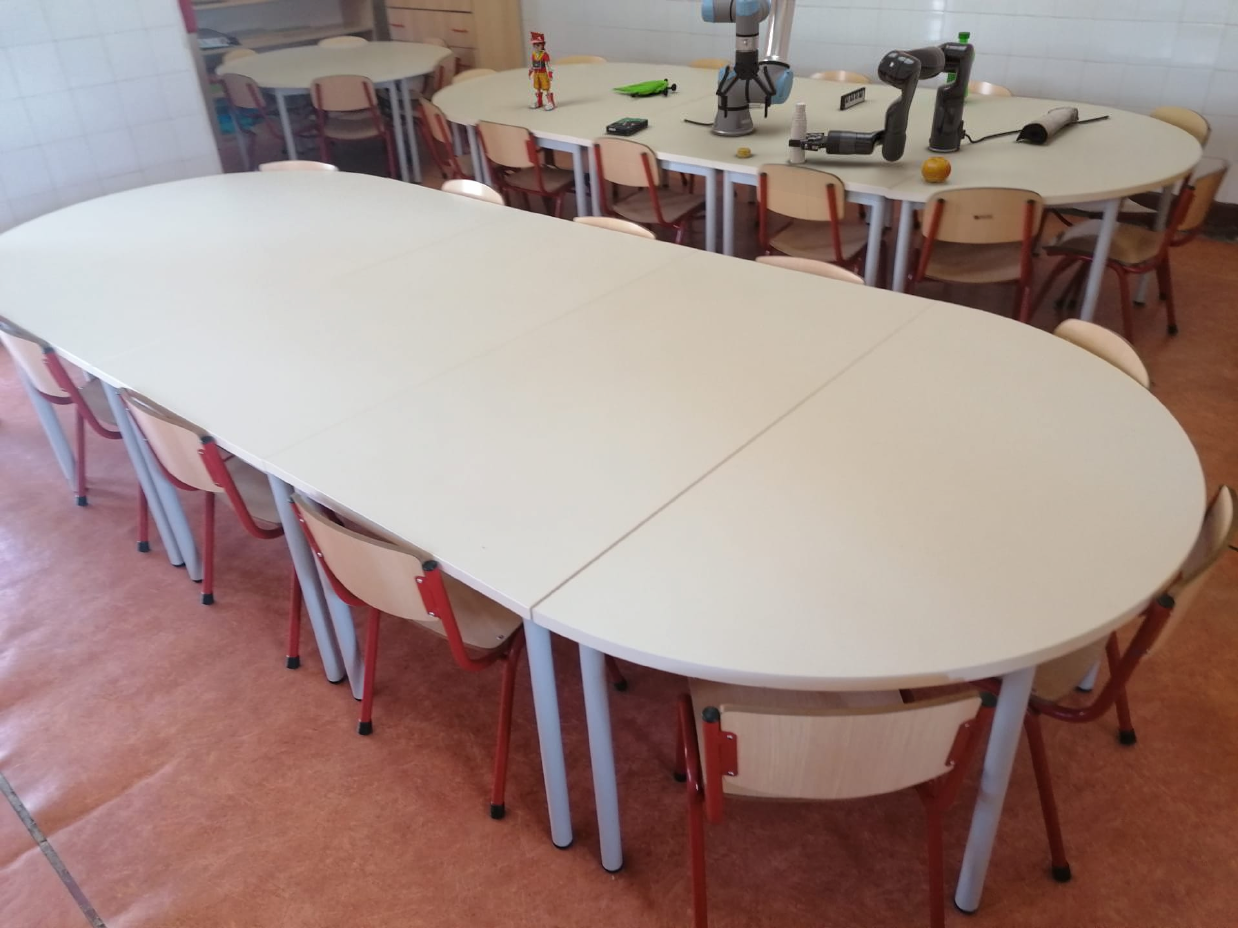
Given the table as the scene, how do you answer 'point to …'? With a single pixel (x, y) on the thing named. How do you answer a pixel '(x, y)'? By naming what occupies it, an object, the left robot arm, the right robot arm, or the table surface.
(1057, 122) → the rolled mat
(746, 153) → the cap
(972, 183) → the table surface
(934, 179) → the fruit
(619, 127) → the disk drive
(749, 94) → the left robot arm
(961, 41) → the plastic bottle
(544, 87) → the toy
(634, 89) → the toy
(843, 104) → the midi keyboard
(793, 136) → the bottle
